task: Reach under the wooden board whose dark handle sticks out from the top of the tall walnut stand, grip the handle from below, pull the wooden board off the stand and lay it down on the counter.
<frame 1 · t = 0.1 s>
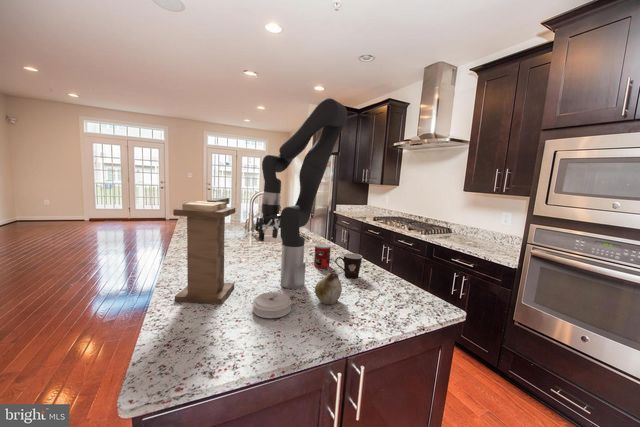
hand: (268, 239, 118), 17 cm above the worktop, tool pointing down, fingers open, 8 cm apart
lid: (271, 311, 91), on the worktop
canned food: (321, 266, 139), on the worktop
tall stand: (206, 294, 100), on the worktop
wooden board: (213, 206, 101), point 32 cm above the worktop, touching tall stand
fruit: (327, 302, 99), on the worktop
coffee mug: (348, 276, 128), on the worktop
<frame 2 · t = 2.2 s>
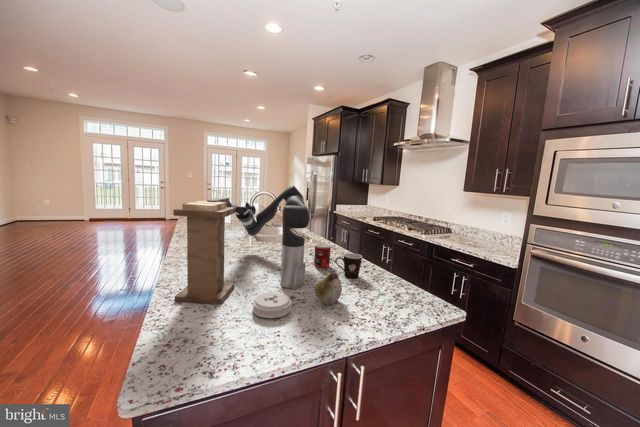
hand: (237, 203, 128), 31 cm above the worktop, tool pointing upward, fingers open, 8 cm apart
nothing on the worktop moved.
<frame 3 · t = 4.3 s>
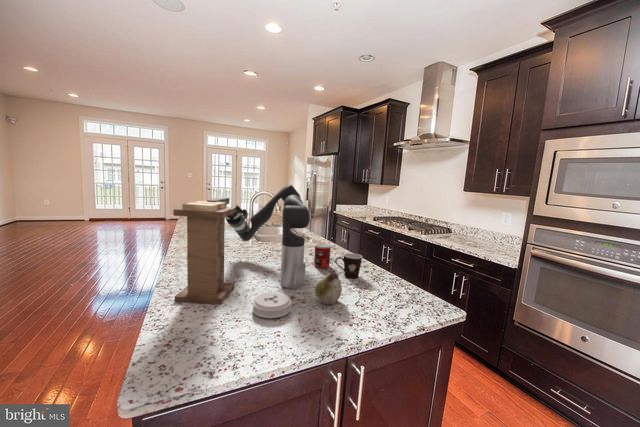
hand: (226, 206, 116), 31 cm above the worktop, tool pointing upward, fingers open, 8 cm apart
nothing on the worktop moved.
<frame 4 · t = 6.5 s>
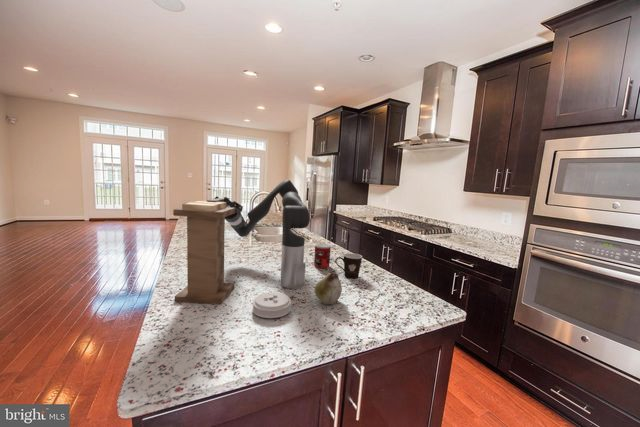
hand: (220, 198, 109), 34 cm above the worktop, tool pointing upward, fingers closed on wooden board, 3 cm apart
wooden board: (213, 206, 101), point 32 cm above the worktop, touching gripper, tall stand
everything else where it was.
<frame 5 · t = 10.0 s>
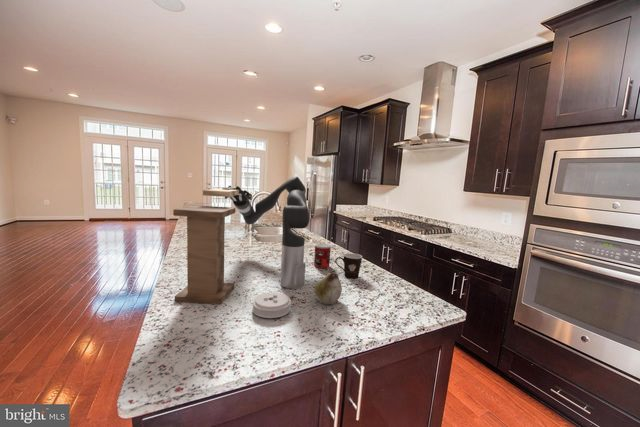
hand: (233, 187, 123), 38 cm above the worktop, tool pointing upward, fingers closed on wooden board, 3 cm apart
wooden board: (227, 194, 116), point 36 cm above the worktop, touching gripper
everything else where it was.
when the fingers open (15 cm above the worktop, at t = 13.4 s): wooden board drops 9 cm, on the worktop.
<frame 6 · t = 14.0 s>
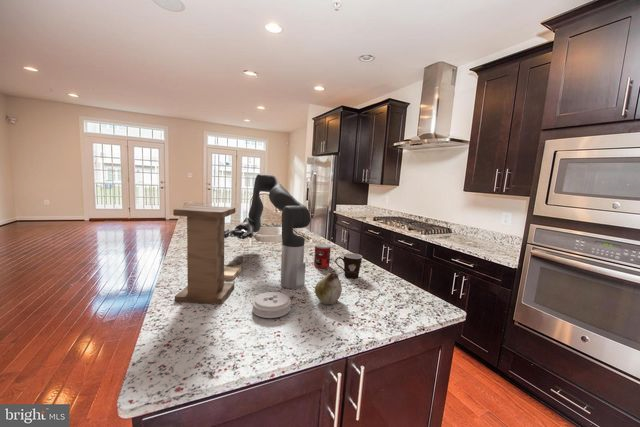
hand: (234, 236, 129), 15 cm above the worktop, tool horizontal, fingers open, 8 cm apart
wooden board: (231, 269, 128), on the worktop
everything else where it was.
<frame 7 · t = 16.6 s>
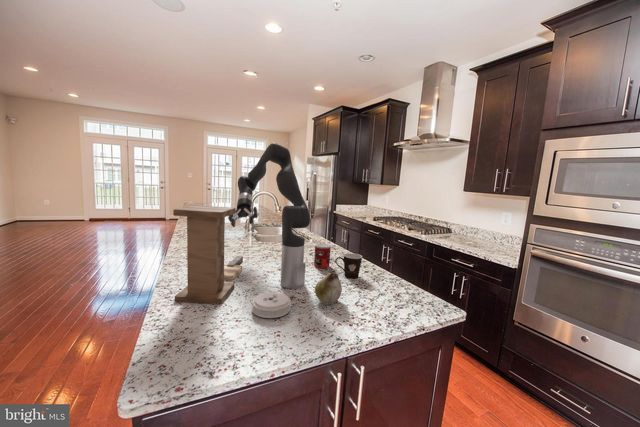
hand: (241, 224, 133), 20 cm above the worktop, tool tilted 55°, fingers open, 8 cm apart
nothing on the worktop moved.
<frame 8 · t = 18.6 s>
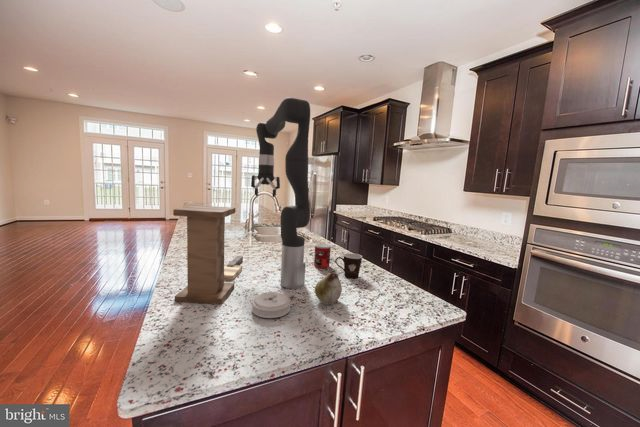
hand: (265, 196, 138), 34 cm above the worktop, tool pointing down, fingers open, 8 cm apart
nothing on the worktop moved.
at the end: wooden board on the worktop; wooden board touching worktop; the gripper is holding nothing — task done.
